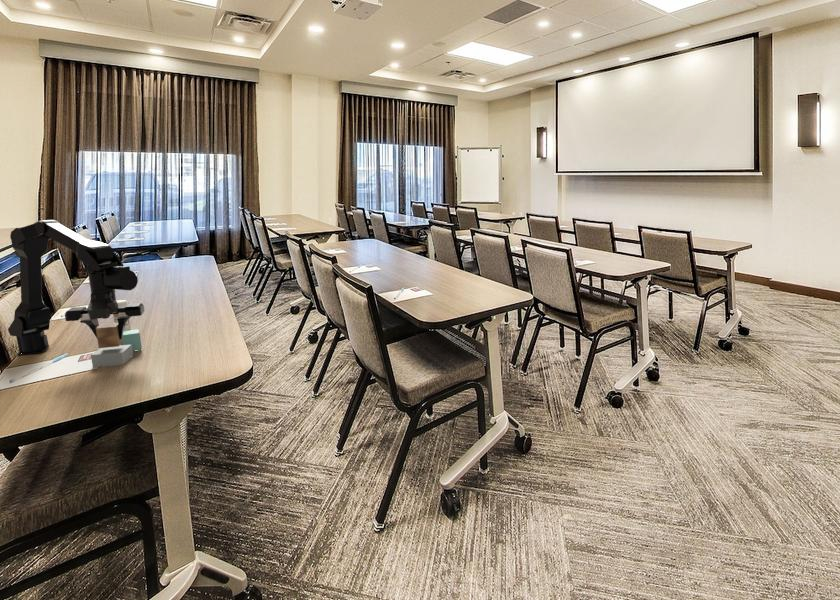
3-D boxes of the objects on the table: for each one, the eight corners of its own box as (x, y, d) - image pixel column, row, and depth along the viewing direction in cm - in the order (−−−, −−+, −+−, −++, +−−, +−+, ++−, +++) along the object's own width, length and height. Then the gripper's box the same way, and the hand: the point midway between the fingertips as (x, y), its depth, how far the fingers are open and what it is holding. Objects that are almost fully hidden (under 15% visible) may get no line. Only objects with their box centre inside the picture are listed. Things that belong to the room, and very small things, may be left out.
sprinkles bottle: (132, 339, 161) (127, 301, 158) (116, 341, 159) (110, 303, 156) (131, 336, 165) (126, 298, 162) (116, 338, 163) (110, 300, 160)
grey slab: (93, 368, 136) (90, 354, 135) (104, 358, 144) (102, 346, 143) (123, 365, 138) (121, 352, 137) (133, 356, 145) (131, 344, 144)
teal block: (123, 353, 147) (121, 335, 146) (122, 349, 151) (120, 331, 150) (142, 350, 150) (139, 332, 149) (140, 346, 154) (138, 329, 153)
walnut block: (98, 348, 136) (95, 328, 135) (103, 343, 141) (100, 323, 140) (118, 346, 138) (115, 326, 137) (122, 341, 143) (119, 322, 141)
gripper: (53, 296, 125) (63, 351, 129) (133, 291, 131) (140, 344, 135) (67, 288, 135) (76, 340, 139) (141, 284, 142) (147, 333, 145)
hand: (110, 339), depth 139 cm, fingers closed on walnut block, 5 cm apart
